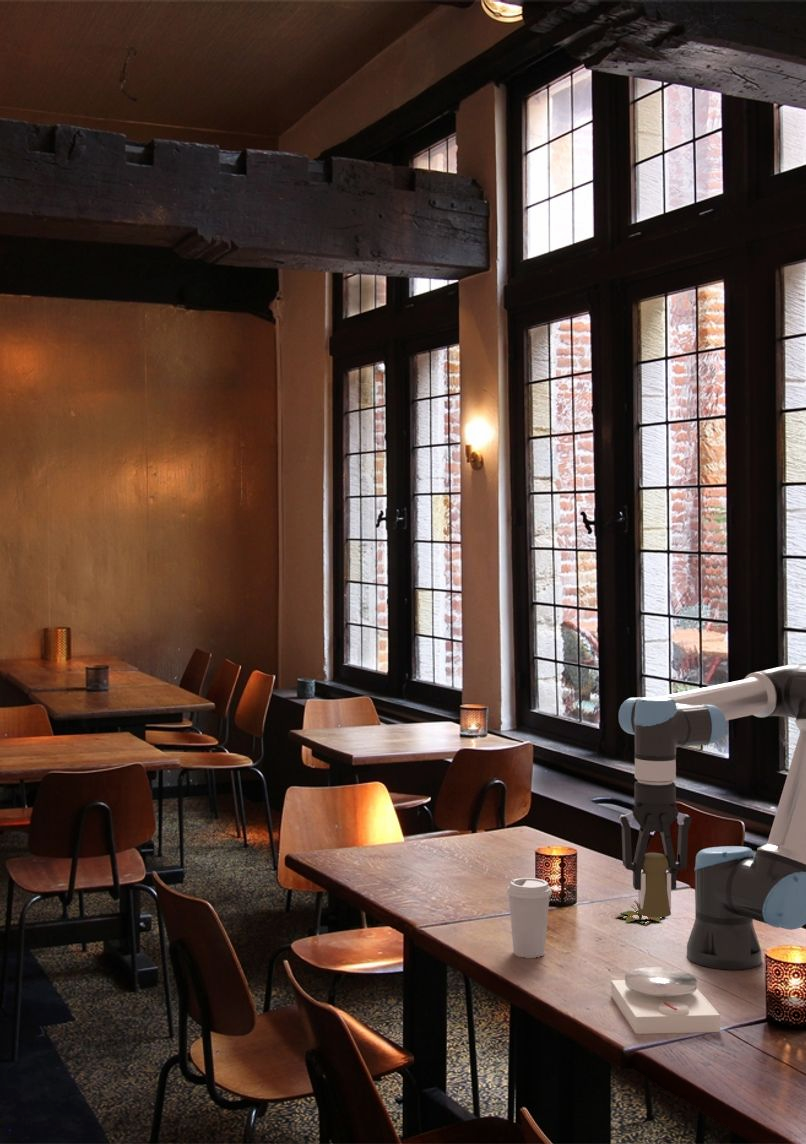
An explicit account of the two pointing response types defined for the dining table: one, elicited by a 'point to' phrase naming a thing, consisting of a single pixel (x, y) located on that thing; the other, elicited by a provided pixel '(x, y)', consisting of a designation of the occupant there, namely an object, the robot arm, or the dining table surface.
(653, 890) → the cork
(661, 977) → the pan
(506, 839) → the dining table surface
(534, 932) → the coffee cup
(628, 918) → the lily flower
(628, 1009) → the scale base
